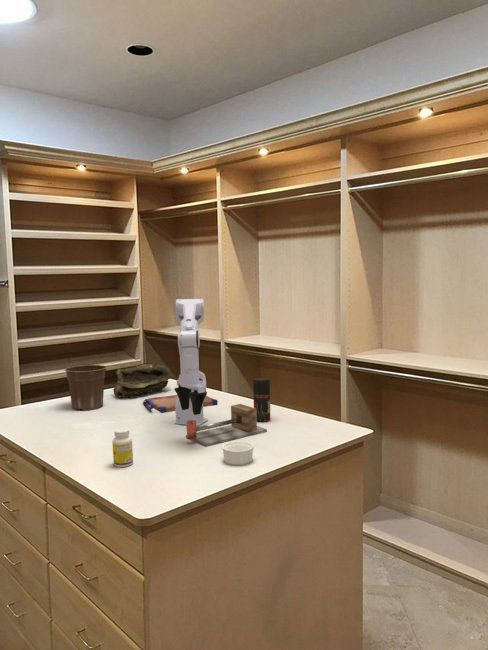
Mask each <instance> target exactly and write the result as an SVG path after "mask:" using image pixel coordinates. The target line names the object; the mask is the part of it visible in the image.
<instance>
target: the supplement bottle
mask: <svg viewBox="0 0 488 650" xmlns="http://www.w3.org/2000/svg"><path fill="white" fill-rule="evenodd" d="M113 432H114V438H113V439H112V458H113V465H114V466H115V467H117V468H124V467H125V468H127V467H130V466H132V465H133V464H134V450H133V438H132V437H131V436H130V430H129V428H126V427H125V428H124V427H121V428H116V429H114V431H113Z"/></svg>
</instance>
